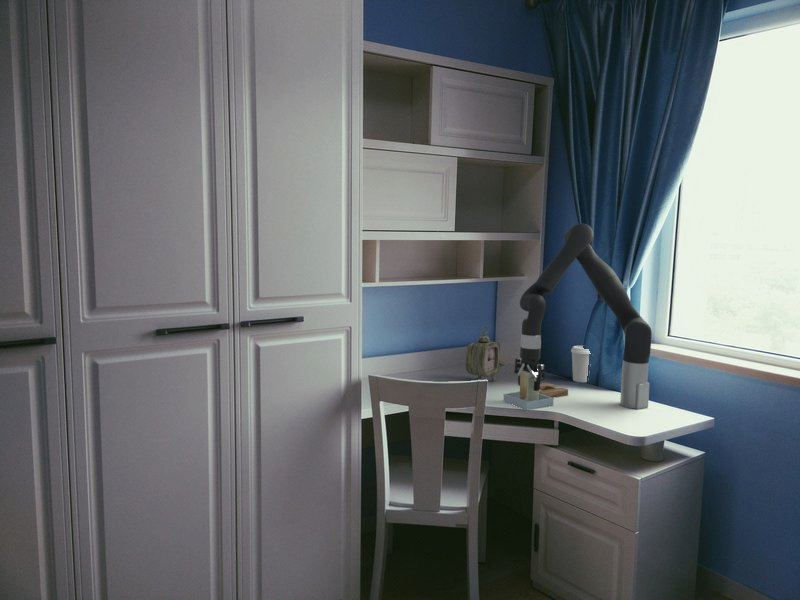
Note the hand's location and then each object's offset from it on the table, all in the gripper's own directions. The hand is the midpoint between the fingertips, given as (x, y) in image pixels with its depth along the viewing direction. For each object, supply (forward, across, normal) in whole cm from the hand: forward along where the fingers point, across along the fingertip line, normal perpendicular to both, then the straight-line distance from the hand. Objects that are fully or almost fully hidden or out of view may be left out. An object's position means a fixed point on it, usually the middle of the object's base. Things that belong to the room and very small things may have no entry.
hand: (528, 388), depth 237 cm
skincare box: (+6, 0, 0) cm, 6 cm away
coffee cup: (+6, +18, -47) cm, 51 cm away
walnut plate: (+6, +8, -16) cm, 19 cm away
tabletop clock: (+6, +35, -5) cm, 36 cm away
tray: (+6, 0, 0) cm, 6 cm away
